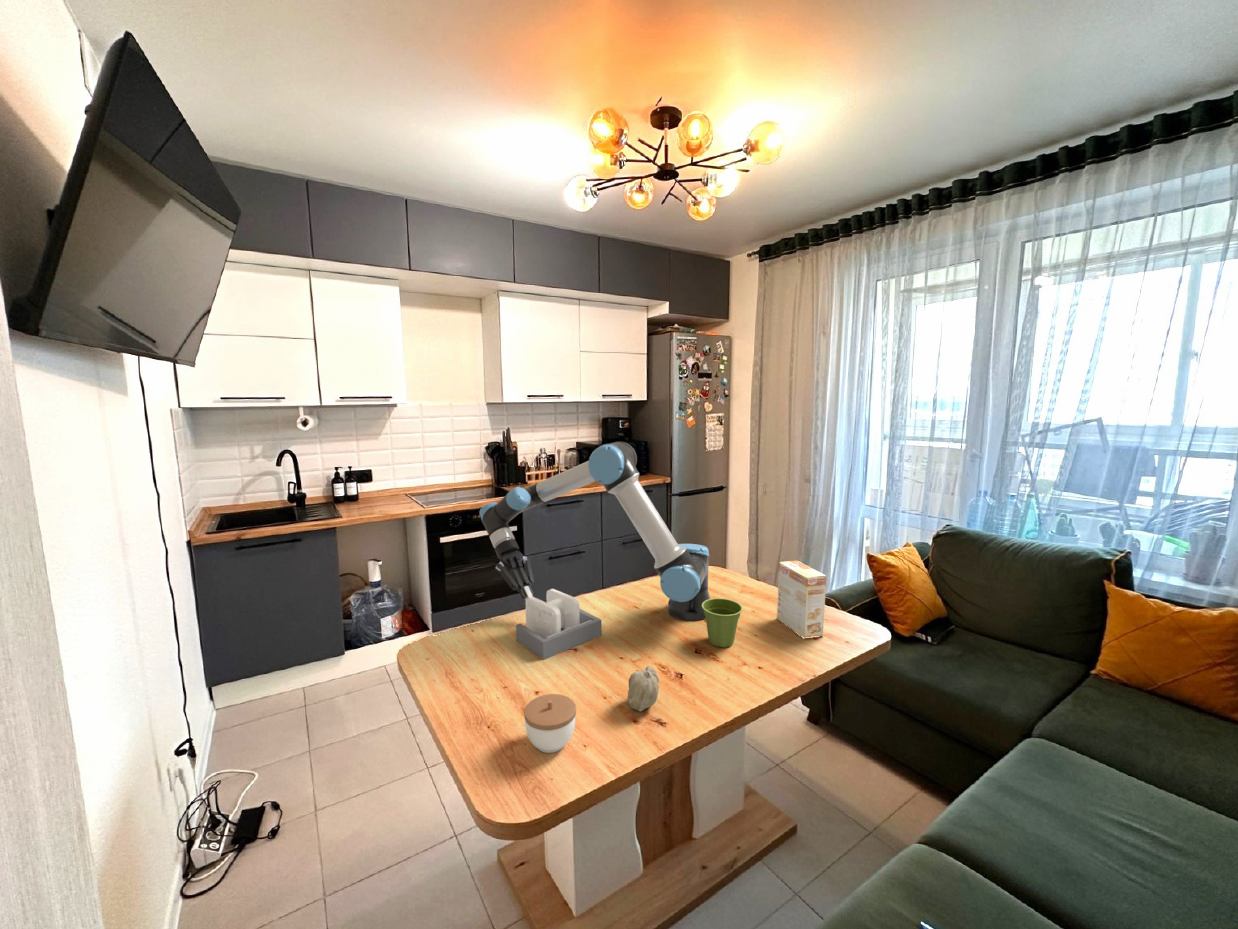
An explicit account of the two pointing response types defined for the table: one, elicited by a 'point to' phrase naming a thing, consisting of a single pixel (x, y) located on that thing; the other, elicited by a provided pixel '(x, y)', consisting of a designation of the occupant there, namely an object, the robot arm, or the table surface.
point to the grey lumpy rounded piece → (643, 689)
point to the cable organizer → (552, 613)
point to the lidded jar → (550, 721)
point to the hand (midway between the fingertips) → (532, 605)
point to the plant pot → (721, 620)
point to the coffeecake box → (801, 598)
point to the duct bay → (560, 636)
